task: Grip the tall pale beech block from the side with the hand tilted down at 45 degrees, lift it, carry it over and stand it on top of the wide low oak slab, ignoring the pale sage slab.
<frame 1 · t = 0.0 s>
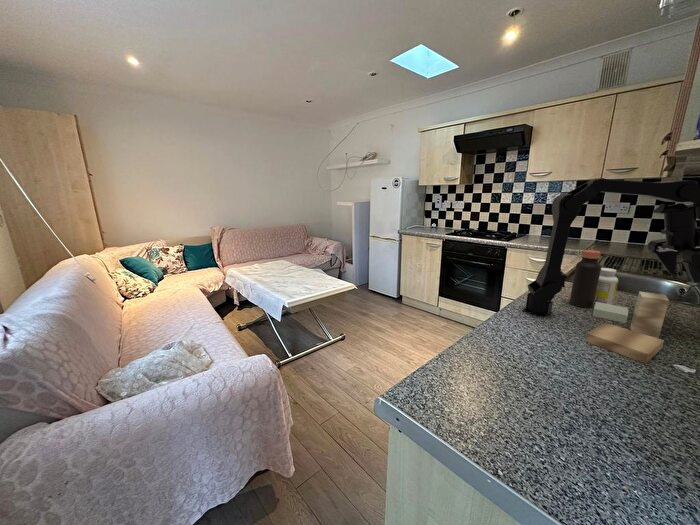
hand: (683, 277, 79), 15 cm above the counter, tool pointing down, fingers open, 9 cm apart
oak block: (621, 346, 74), on the counter
vinegar: (580, 305, 100), on the counter
beech post: (643, 334, 79), on the counter
sage block: (609, 316, 91), on the counter
supplement bottle: (600, 303, 101), on the counter
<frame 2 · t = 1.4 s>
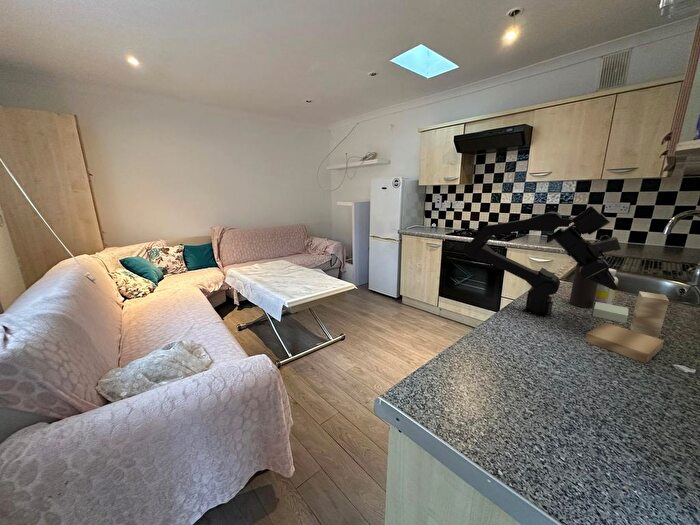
hand: (614, 285, 80), 13 cm above the counter, tool tilted 45°, fingers open, 9 cm apart
nothing on the counter moved.
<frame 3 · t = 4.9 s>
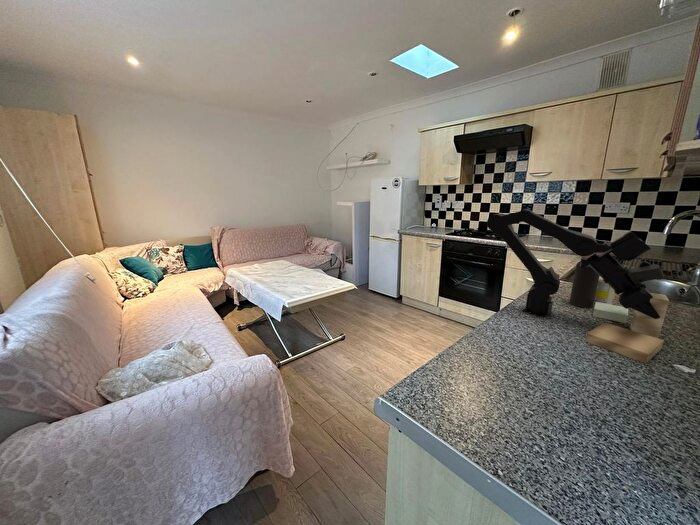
hand: (656, 314, 76), 7 cm above the counter, tool tilted 45°, fingers closed on beech post, 5 cm apart
beech post: (643, 334, 79), on the counter, touching gripper
everything else where it was.
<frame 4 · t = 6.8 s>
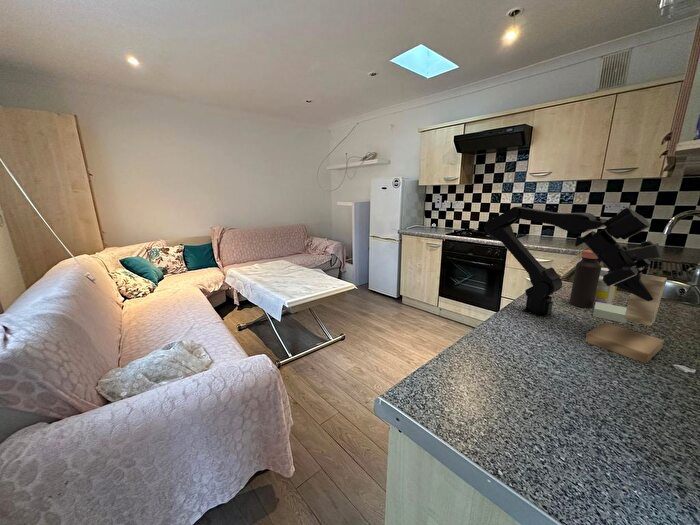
hand: (653, 298, 71), 13 cm above the counter, tool tilted 45°, fingers closed on beech post, 5 cm apart
beech post: (639, 319, 74), point 7 cm above the counter, touching gripper
everything else where it was.
when the fingers open (10 cm above the counter, at t = 8.8 s): beech post stays where it is, resting on oak block.
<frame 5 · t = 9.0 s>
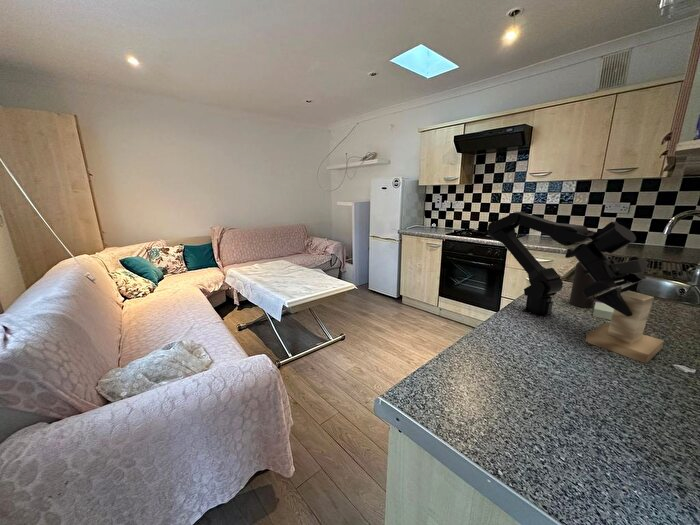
hand: (637, 313, 70), 10 cm above the counter, tool tilted 45°, fingers open, 7 cm apart
oak block: (621, 347, 74), on the counter, touching beech post
beech post: (623, 336, 73), point 2 cm above the counter, touching oak block
everything else where it was.
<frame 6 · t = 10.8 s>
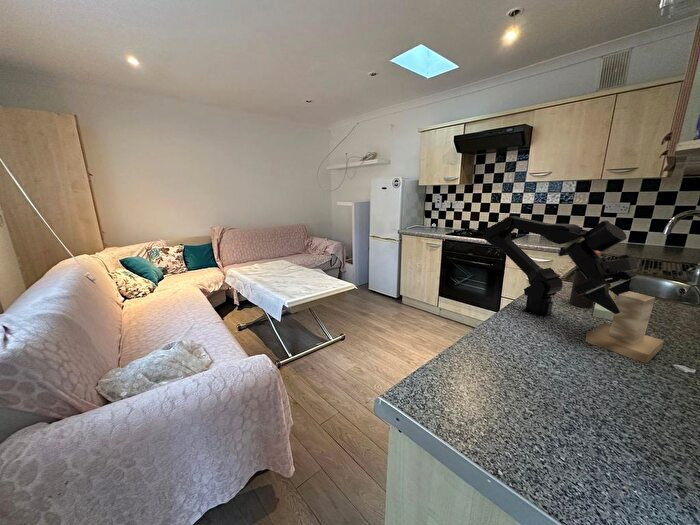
hand: (627, 310, 72), 10 cm above the counter, tool tilted 45°, fingers open, 9 cm apart
nothing on the counter moved.
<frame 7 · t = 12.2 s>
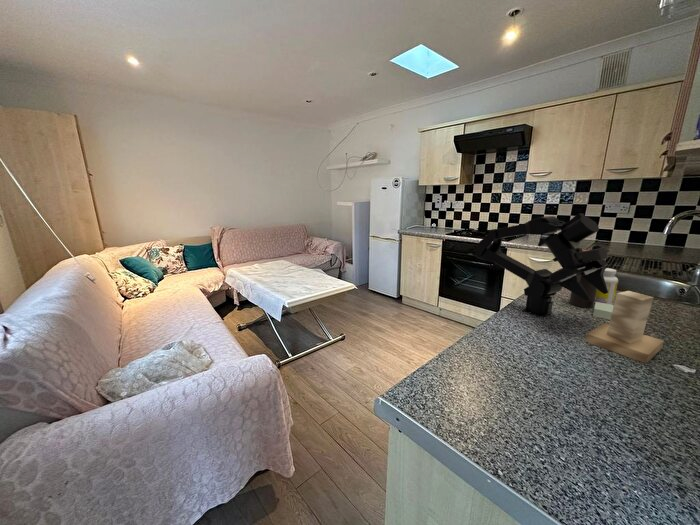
hand: (597, 296, 78), 11 cm above the counter, tool tilted 40°, fingers open, 9 cm apart
oak block: (621, 347, 74), on the counter
beech post: (623, 337, 73), point 2 cm above the counter
everything else where it was.
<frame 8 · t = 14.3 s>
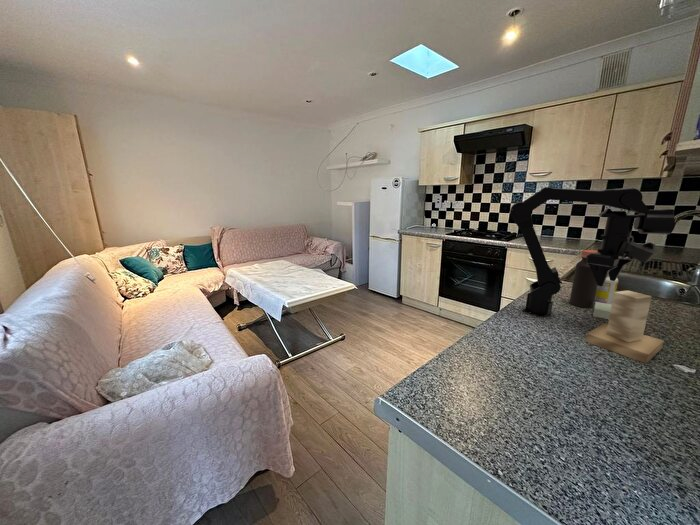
hand: (606, 283, 84), 13 cm above the counter, tool pointing down, fingers open, 9 cm apart
nothing on the counter moved.
at the end: beech post inside the target area on the oak block (0.2 cm from its centre), point 3.1 cm above the oak block's base; beech post tilted 2°; the gripper is holding nothing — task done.
